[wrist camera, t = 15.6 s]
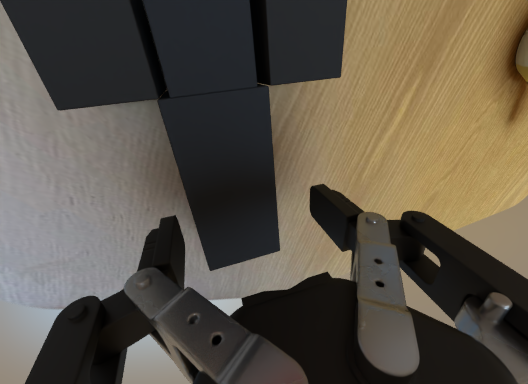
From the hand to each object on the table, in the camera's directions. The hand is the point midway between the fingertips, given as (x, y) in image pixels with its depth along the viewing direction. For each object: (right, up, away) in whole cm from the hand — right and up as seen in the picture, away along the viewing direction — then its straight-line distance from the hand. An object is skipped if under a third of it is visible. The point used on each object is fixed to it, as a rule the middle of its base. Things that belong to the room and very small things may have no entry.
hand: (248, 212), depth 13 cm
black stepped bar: (-3, +5, +4) cm, 7 cm away
